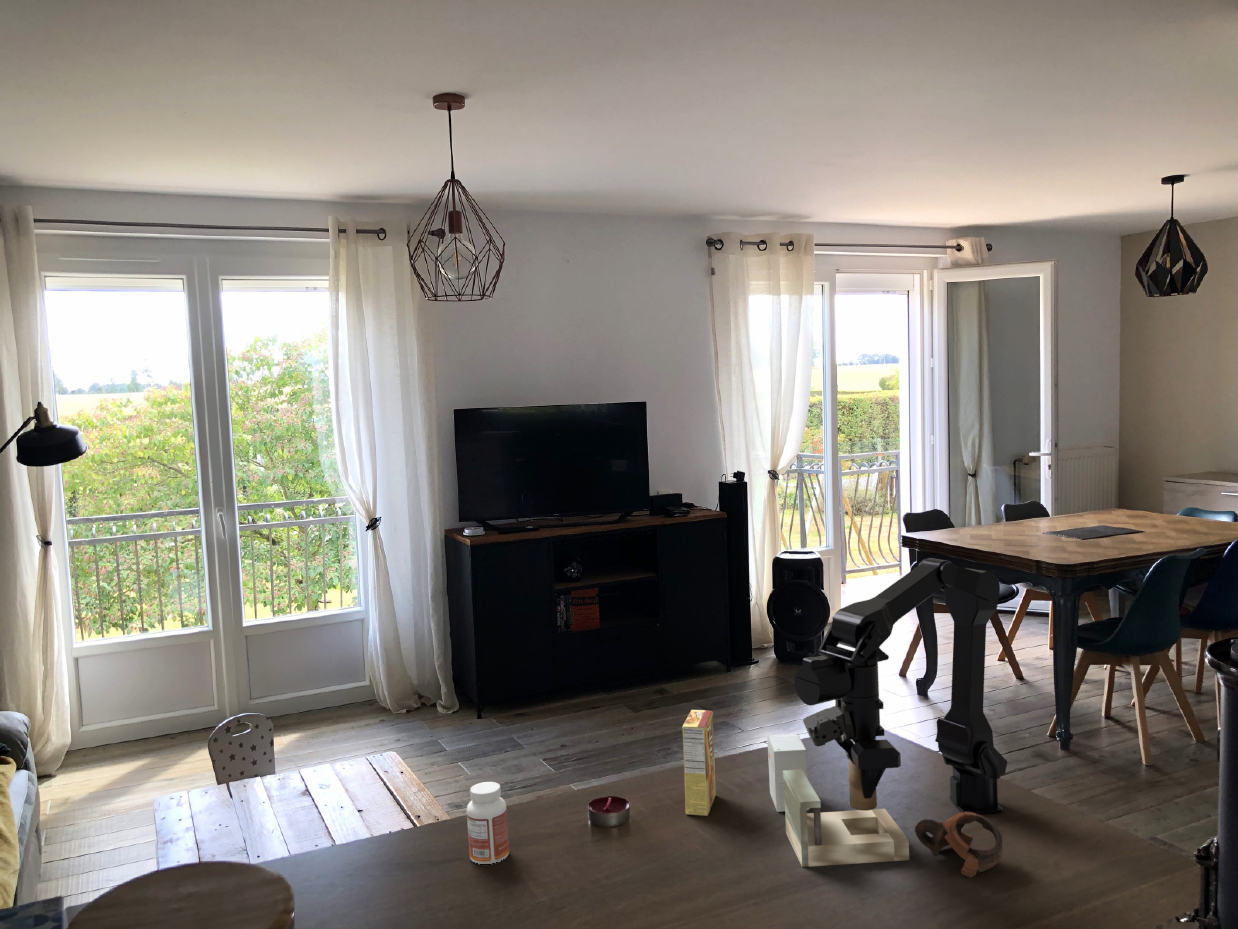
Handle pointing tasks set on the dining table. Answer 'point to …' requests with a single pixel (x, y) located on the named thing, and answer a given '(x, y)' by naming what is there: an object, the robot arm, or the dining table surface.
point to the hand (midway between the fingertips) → (863, 792)
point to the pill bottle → (487, 824)
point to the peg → (859, 791)
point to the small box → (784, 763)
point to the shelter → (837, 830)
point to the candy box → (699, 762)
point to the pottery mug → (961, 840)
